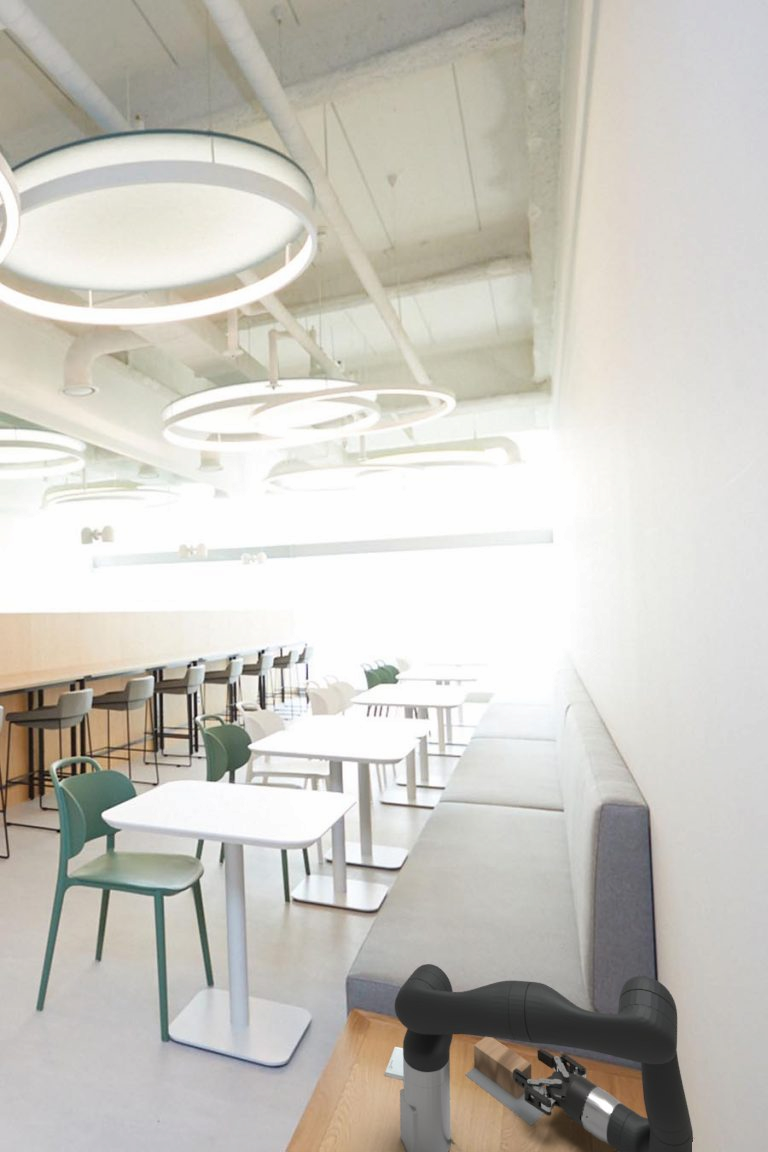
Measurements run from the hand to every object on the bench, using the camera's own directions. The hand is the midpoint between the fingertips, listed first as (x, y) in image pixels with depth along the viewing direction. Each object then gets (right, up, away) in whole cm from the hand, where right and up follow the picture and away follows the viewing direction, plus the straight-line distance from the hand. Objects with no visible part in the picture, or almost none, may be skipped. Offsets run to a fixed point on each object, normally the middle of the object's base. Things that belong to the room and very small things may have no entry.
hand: (526, 1063), depth 138 cm
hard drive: (-23, -9, +9) cm, 26 cm away
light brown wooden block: (0, -4, 0) cm, 4 cm away
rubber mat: (-3, -8, +2) cm, 8 cm away
